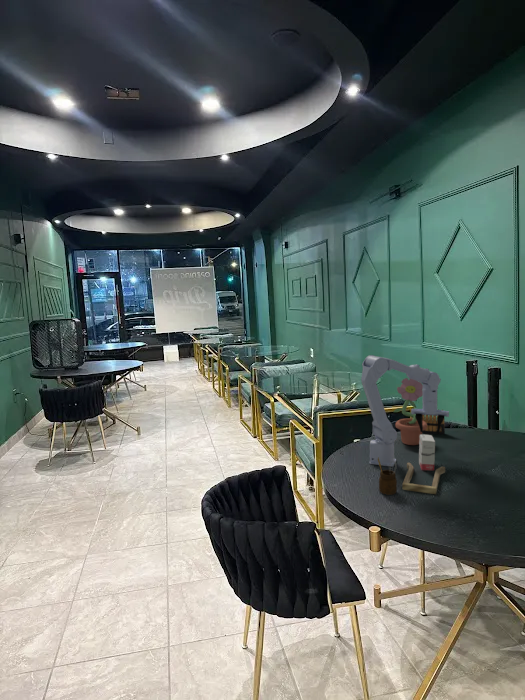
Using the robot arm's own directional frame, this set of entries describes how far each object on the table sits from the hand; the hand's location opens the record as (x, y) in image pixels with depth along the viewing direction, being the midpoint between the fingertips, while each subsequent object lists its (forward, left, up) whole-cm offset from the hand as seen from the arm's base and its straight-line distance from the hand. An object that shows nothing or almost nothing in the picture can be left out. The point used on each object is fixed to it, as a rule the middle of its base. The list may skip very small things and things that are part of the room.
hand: (429, 432), depth 187 cm
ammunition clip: (-2, +33, -11) cm, 34 cm away
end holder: (0, -26, -10) cm, 28 cm away
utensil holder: (-10, -40, -11) cm, 43 cm away
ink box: (0, -12, -11) cm, 16 cm away
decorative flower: (-10, +15, -11) cm, 21 cm away
